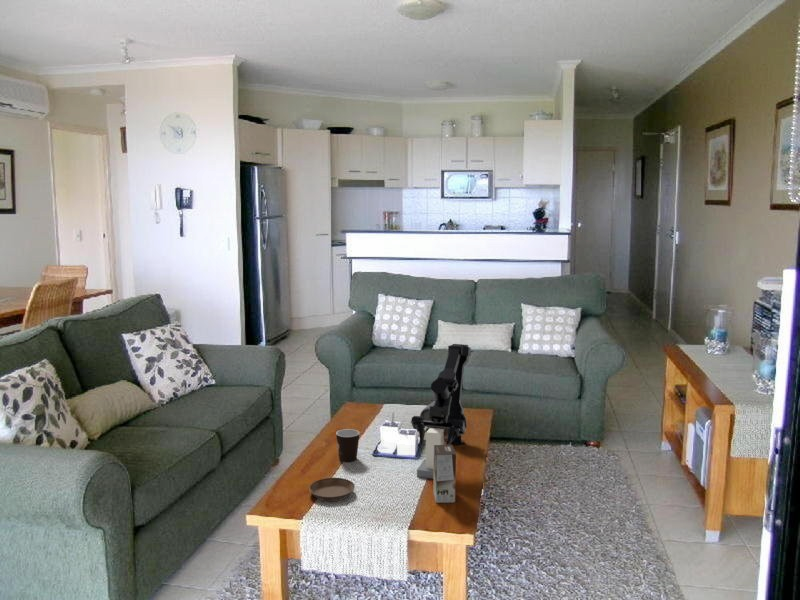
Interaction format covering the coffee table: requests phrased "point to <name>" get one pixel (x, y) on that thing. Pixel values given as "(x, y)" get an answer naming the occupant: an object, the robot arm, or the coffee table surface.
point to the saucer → (331, 489)
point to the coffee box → (444, 473)
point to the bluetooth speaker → (427, 413)
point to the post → (433, 438)
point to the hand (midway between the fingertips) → (433, 446)
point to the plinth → (425, 471)
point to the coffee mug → (347, 444)
